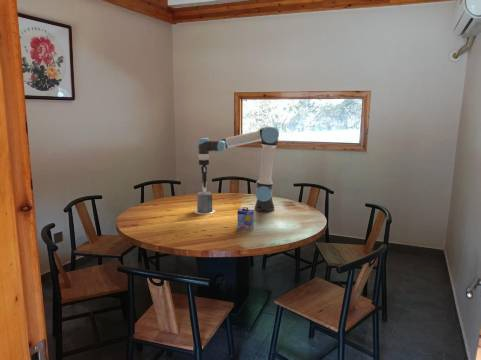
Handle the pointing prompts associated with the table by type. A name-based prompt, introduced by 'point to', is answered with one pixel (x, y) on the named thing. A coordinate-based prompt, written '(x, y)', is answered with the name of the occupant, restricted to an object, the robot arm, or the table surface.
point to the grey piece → (204, 202)
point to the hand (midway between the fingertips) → (204, 190)
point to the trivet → (204, 213)
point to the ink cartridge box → (245, 219)
